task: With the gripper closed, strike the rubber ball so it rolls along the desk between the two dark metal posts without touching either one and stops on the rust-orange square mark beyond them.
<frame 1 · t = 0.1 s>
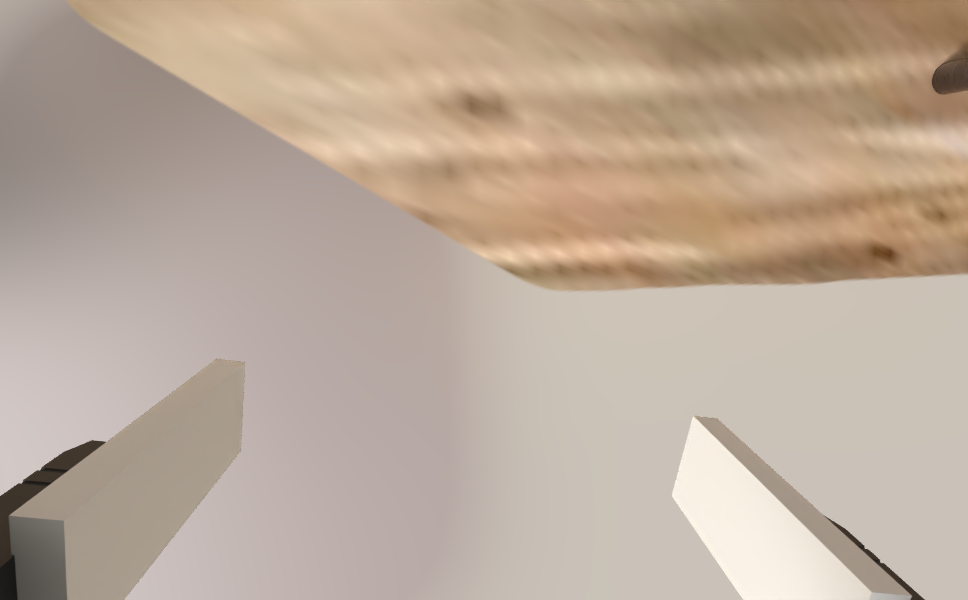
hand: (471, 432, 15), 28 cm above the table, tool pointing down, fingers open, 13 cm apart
post 1: (946, 78, 40), on the table
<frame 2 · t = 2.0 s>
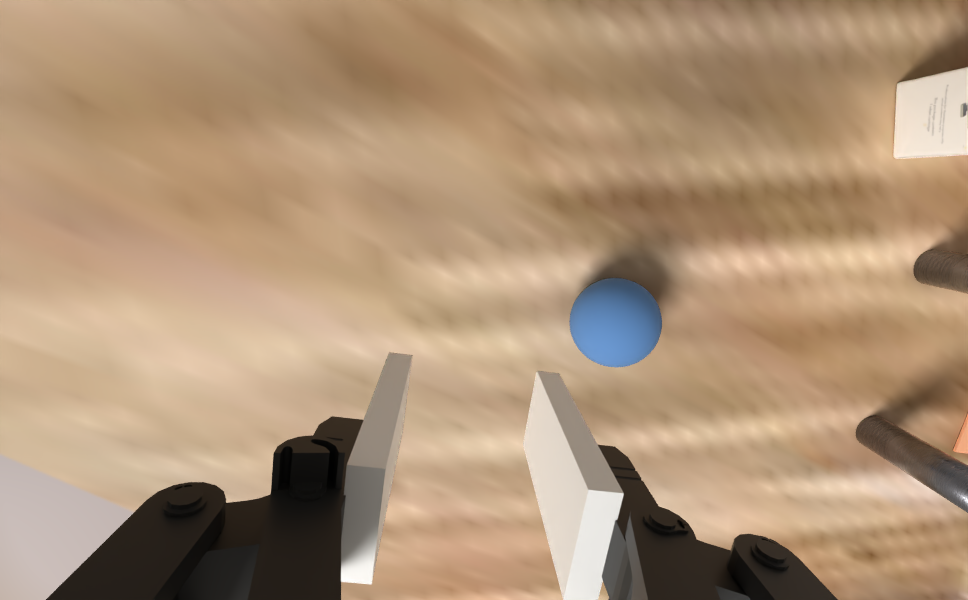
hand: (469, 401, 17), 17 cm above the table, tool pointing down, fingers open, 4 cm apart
post 1: (871, 430, 37), on the table
post 2: (930, 266, 34), on the table
ball: (614, 322, 31), on the table
ink cartridge box: (952, 112, 32), on the table
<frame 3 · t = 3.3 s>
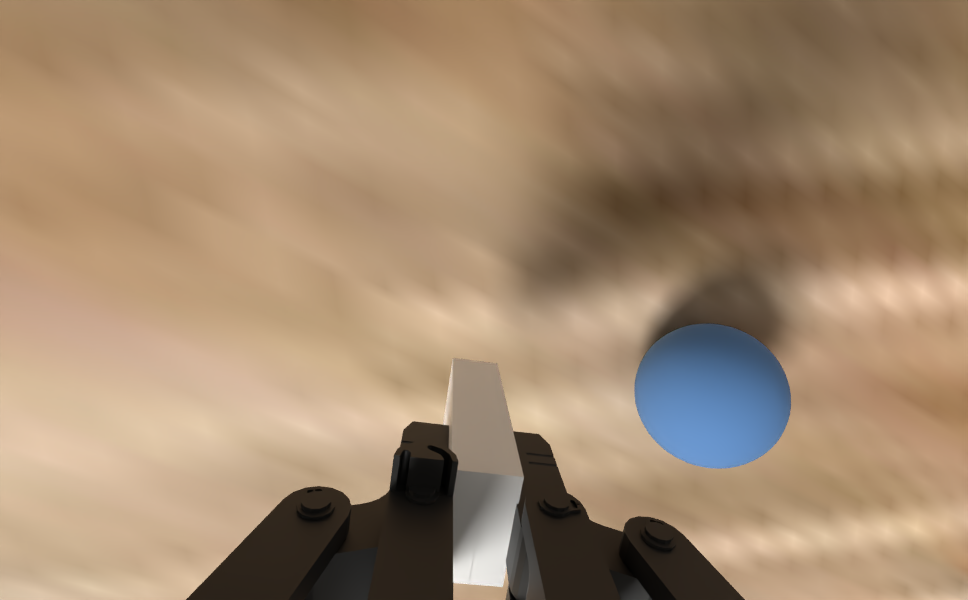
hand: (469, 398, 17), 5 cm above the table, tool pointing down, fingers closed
ball: (708, 394, 19), on the table
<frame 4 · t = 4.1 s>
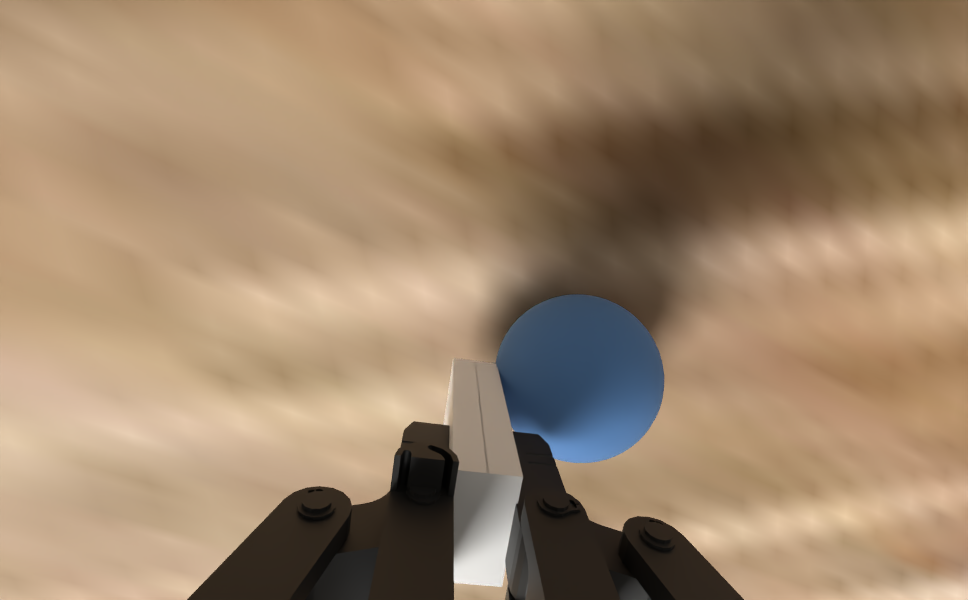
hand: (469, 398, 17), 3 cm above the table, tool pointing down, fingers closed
ball: (576, 376, 17), on the table, touching gripper
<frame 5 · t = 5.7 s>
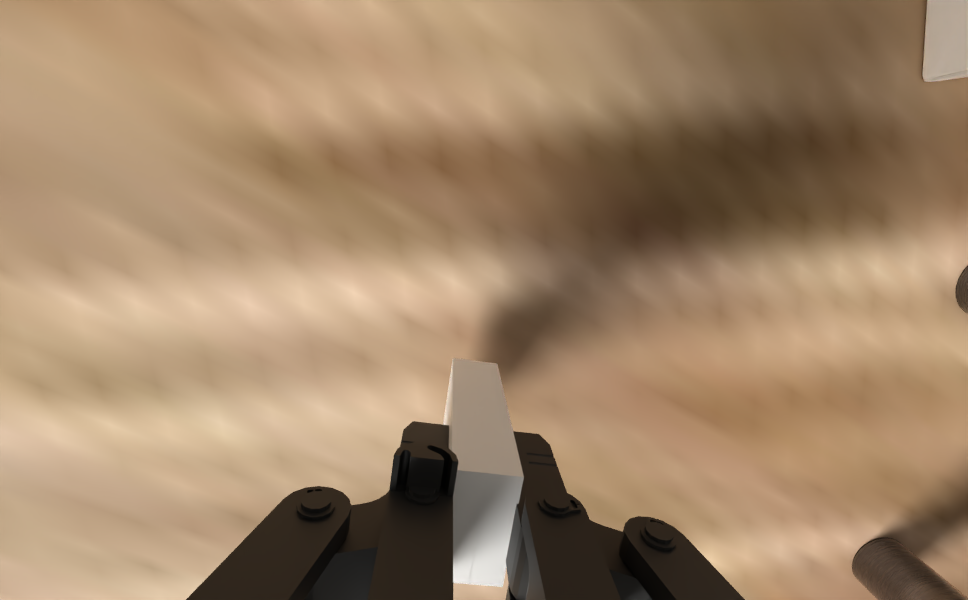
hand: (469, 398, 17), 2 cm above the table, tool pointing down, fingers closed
post 1: (879, 561, 22), on the table
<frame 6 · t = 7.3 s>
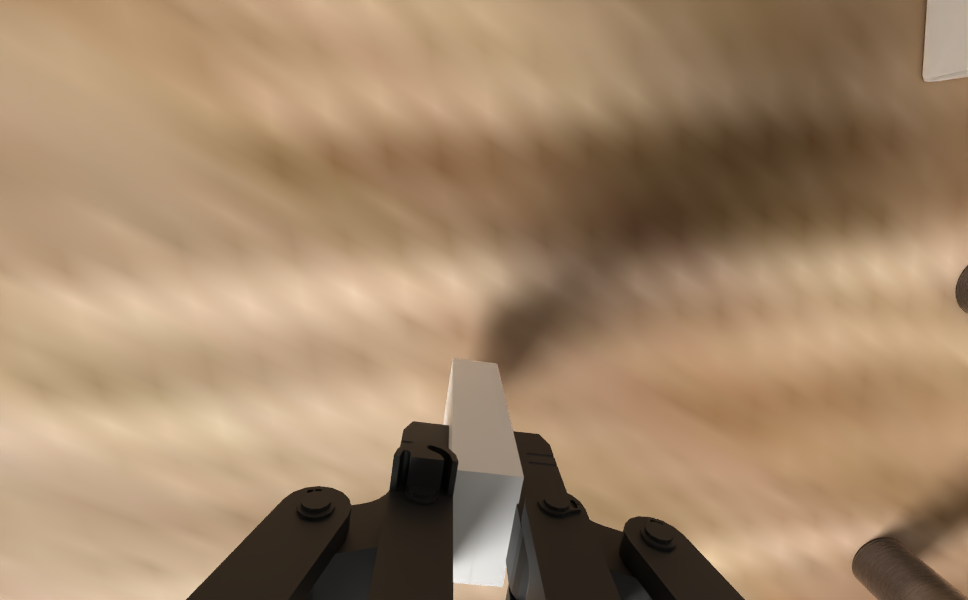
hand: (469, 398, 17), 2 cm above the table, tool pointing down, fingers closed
post 1: (879, 561, 22), on the table
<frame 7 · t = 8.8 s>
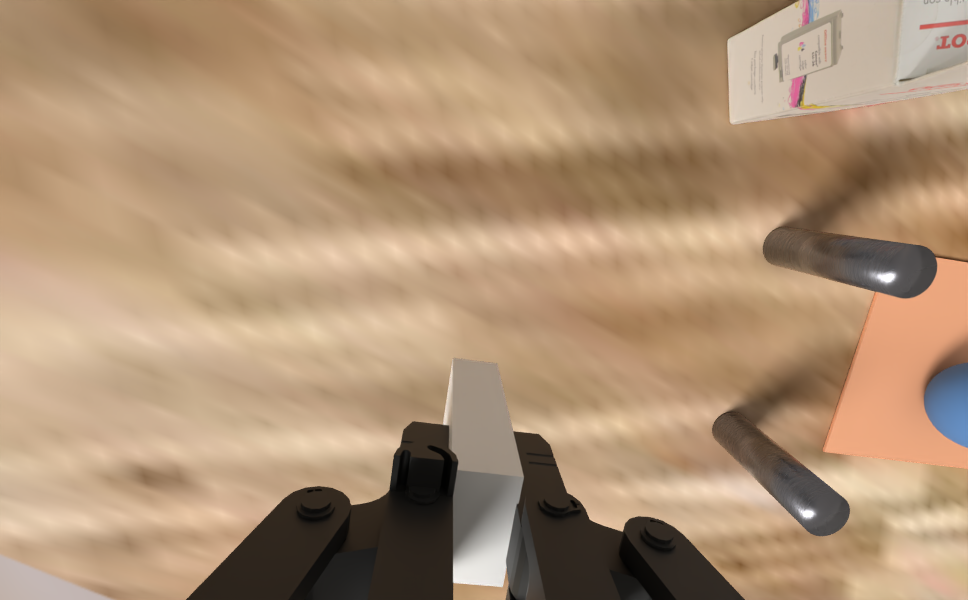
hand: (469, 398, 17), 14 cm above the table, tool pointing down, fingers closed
post 1: (729, 428, 34), on the table
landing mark: (950, 368, 33), on the table
post 2: (781, 246, 31), on the table
ink cartridge box: (794, 73, 29), on the table
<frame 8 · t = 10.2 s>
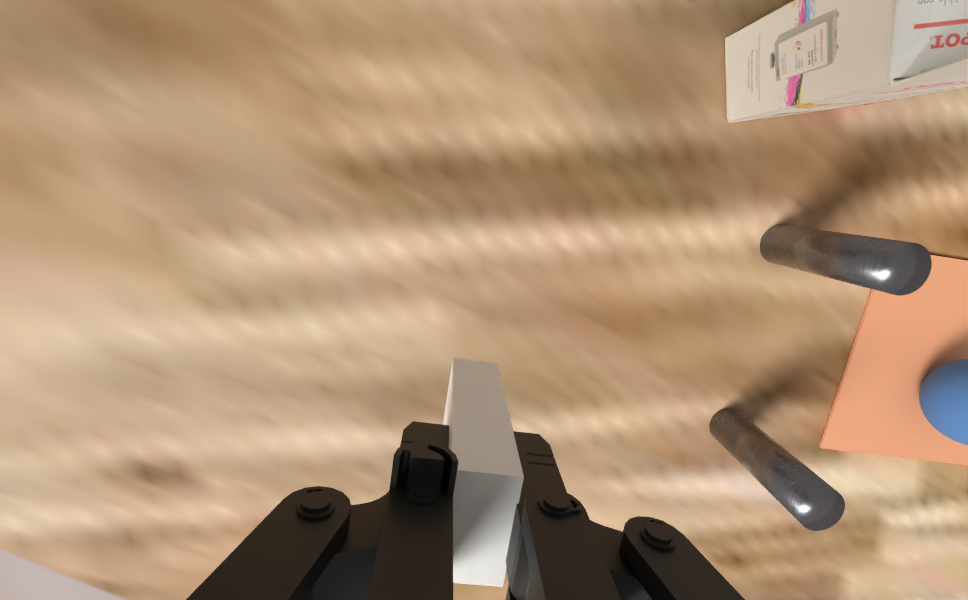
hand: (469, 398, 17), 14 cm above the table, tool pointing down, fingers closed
post 1: (726, 424, 34), on the table
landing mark: (945, 364, 34), on the table
post 2: (778, 244, 31), on the table
ink cartridge box: (791, 71, 29), on the table
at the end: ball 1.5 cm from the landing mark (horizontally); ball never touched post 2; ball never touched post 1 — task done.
